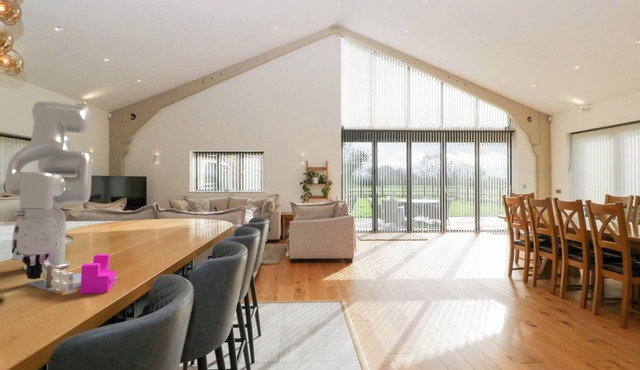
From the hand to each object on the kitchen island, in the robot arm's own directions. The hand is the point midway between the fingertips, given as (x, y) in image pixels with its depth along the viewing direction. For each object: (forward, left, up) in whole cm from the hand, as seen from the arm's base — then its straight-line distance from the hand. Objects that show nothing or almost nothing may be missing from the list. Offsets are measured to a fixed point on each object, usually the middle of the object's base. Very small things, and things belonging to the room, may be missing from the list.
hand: (33, 278), depth 101 cm
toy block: (+17, +9, -2) cm, 20 cm away
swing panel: (+2, +2, -1) cm, 3 cm away
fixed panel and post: (+14, 0, -2) cm, 14 cm away
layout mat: (+6, +8, -2) cm, 10 cm away
